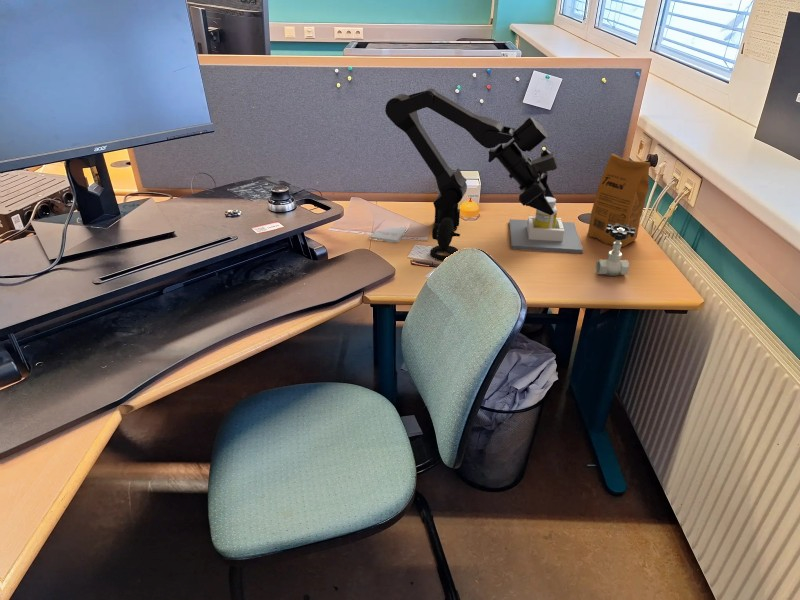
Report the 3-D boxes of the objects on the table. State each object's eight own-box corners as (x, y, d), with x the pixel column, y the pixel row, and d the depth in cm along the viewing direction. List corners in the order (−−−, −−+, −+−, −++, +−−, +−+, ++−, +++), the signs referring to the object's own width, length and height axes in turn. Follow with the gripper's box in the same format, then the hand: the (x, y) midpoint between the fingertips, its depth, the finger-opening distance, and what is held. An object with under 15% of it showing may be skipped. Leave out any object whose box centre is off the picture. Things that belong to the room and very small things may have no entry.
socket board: (511, 249, 142) (512, 234, 140) (509, 222, 158) (510, 209, 156) (582, 253, 140) (585, 238, 138) (573, 225, 156) (575, 212, 154)
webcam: (435, 246, 144) (436, 211, 139) (462, 251, 141) (465, 215, 136) (425, 259, 138) (426, 222, 132) (454, 264, 135) (456, 226, 130)
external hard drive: (411, 227, 156) (397, 245, 146) (384, 224, 158) (369, 241, 148) (411, 222, 155) (397, 239, 145) (383, 219, 157) (368, 236, 147)
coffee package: (601, 226, 155) (617, 148, 144) (641, 240, 147) (661, 159, 136) (580, 235, 150) (594, 155, 139) (620, 250, 142) (639, 167, 130)
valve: (592, 268, 133) (602, 222, 127) (620, 268, 133) (630, 222, 127) (600, 281, 128) (610, 234, 122) (629, 281, 127) (640, 234, 121)
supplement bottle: (546, 228, 151) (551, 194, 146) (557, 236, 147) (563, 201, 142) (529, 231, 150) (534, 196, 145) (539, 238, 146) (544, 203, 141)
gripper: (538, 152, 129) (579, 201, 132) (543, 133, 145) (579, 177, 148) (502, 181, 135) (541, 228, 138) (510, 160, 151) (545, 202, 154)
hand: (553, 207), depth 144 cm, fingers open, 9 cm apart
